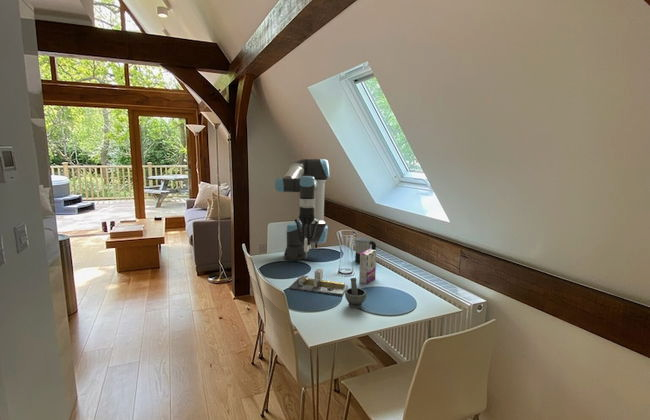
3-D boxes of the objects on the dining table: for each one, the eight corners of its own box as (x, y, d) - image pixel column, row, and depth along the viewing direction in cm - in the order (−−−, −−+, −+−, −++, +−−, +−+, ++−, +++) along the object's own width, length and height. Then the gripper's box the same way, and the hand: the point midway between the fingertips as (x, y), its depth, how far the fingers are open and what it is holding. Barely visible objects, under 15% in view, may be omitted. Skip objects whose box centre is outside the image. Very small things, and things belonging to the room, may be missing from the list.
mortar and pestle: (367, 310, 158) (369, 285, 156) (347, 311, 156) (348, 286, 154) (361, 299, 169) (362, 275, 167) (342, 300, 167) (343, 276, 165)
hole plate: (297, 280, 192) (297, 278, 191) (347, 287, 184) (347, 285, 184) (289, 288, 180) (289, 286, 180) (342, 296, 172) (342, 293, 172)
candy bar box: (367, 276, 200) (368, 248, 197) (375, 278, 197) (376, 250, 194) (358, 282, 191) (359, 253, 188) (366, 284, 188) (368, 255, 185)
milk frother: (361, 264, 219) (362, 241, 217) (345, 258, 232) (345, 236, 229) (377, 260, 228) (378, 238, 225) (361, 254, 240) (362, 233, 238)
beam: (300, 280, 189) (300, 275, 188) (345, 286, 182) (345, 280, 181) (295, 285, 182) (295, 279, 182) (341, 291, 175) (341, 286, 175)
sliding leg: (317, 281, 187) (317, 268, 186) (322, 282, 186) (322, 269, 185) (312, 287, 179) (312, 273, 178) (317, 287, 179) (318, 274, 177)
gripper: (292, 206, 178) (292, 251, 182) (316, 208, 174) (316, 254, 178) (297, 204, 185) (297, 247, 189) (321, 206, 181) (320, 250, 185)
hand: (306, 250), depth 183 cm, fingers closed
